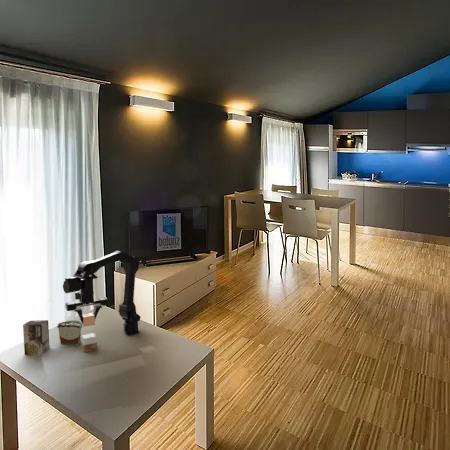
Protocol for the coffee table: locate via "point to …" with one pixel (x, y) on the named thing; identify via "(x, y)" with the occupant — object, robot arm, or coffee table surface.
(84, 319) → the clay block
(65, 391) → the coffee table surface
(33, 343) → the coffee box
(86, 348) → the walnut block
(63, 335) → the food container
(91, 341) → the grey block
